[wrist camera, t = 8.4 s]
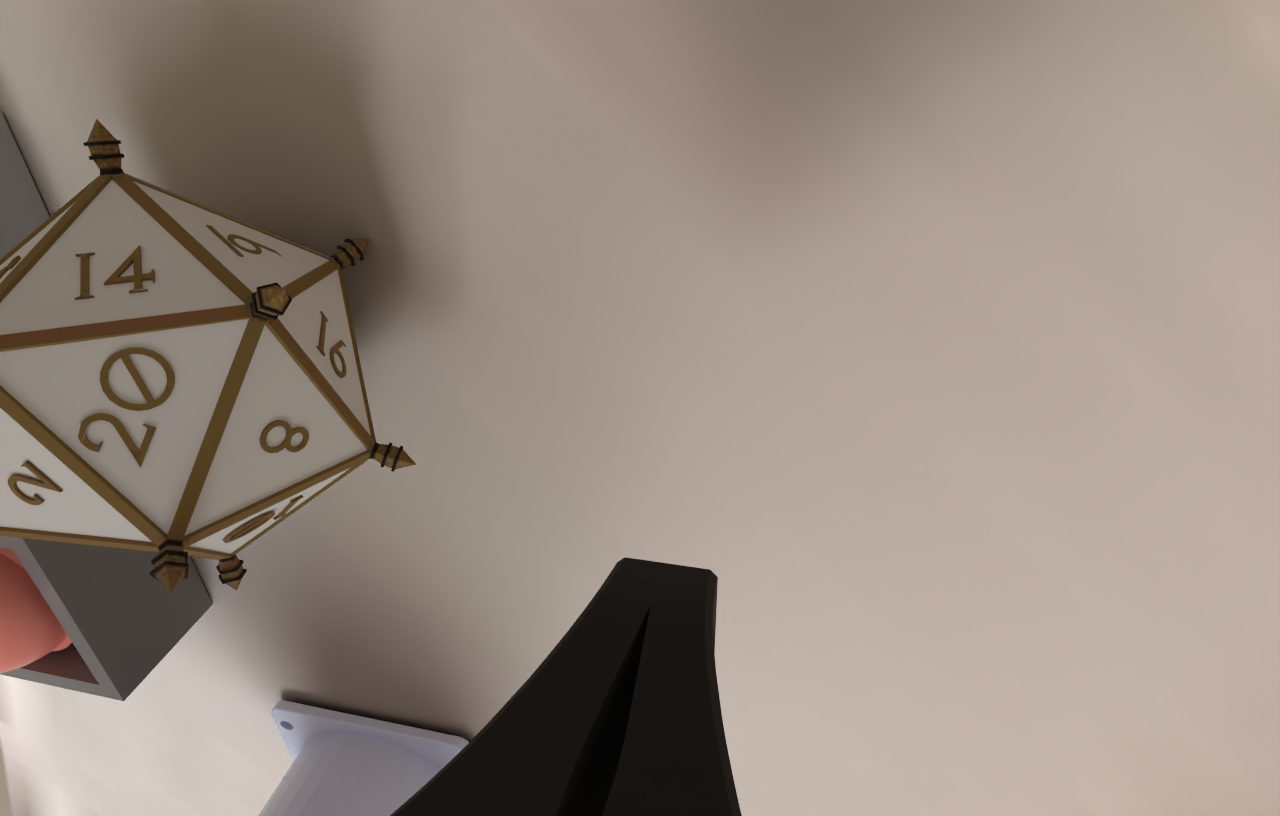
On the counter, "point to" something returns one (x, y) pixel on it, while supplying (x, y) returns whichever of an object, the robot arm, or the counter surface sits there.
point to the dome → (24, 617)
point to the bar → (16, 195)
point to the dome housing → (106, 614)
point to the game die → (172, 376)
